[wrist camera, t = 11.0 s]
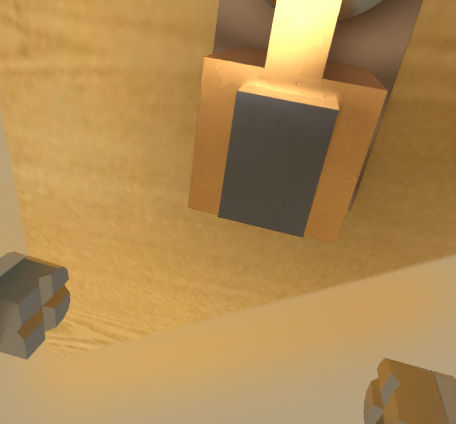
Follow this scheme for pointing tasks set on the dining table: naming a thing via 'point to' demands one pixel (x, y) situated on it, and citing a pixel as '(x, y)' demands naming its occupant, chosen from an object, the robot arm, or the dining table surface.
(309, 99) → the grey t-shaped block
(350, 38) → the walnut base board
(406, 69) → the dining table surface
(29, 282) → the robot arm
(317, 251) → the dining table surface
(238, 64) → the wooden slotted box
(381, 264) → the dining table surface
